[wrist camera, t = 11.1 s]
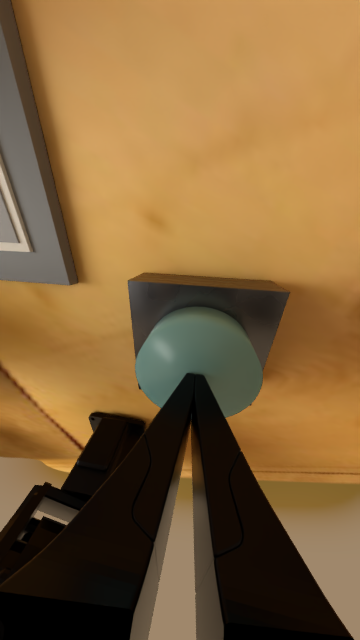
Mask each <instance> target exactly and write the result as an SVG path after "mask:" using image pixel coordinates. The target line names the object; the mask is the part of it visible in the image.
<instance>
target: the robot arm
mask: <svg viewBox="0 0 360 640" xmlns="http://www.w3.org/2000/svg"><path fill="white" fill-rule="evenodd" d="M191 416H192V417H191ZM89 421H90V424H91V427H92V430H93V434H92V436H91V438H90V439H89V441H88V443H87V444H86V446H85V448H84V449H83V451H82V453H81V455H80V456H79V458H78V460H77V462H76V464H75V465H74V467H73V469H72V470H71V472H70V474H69V476H68V477H67V479H66V481H65V482H64V484H63V486H62V487H61V489H58V488H55V487H52V486H51V485H52V484H50V483H48V482H45V483H44V485H43V486H42V485H35V486H34V487H33V488H32V490H31V491H30V493H29V494H28V496H27V497H26V498H25V500H24V501H23V503H22V504H21V505H20V507H19V508H18V510H17V511H16V513H15V514H14V515H13V516H12V518H11V519H10V520H9V522H8V523H7V525H6V526H5V527H4V528H3V530H2V531H1V532H0V640H148V635H149V631H150V625H151V620H152V616H153V611H154V605H155V601H156V595H157V591H158V585H159V584H158V582H159V580H160V575H161V570H162V565H163V560H164V555H165V550H166V545H167V540H168V535H169V530H170V525H171V520H172V515H173V510H174V505H175V500H176V495H177V490H178V485H179V480H180V475H181V470H182V465H183V460H184V455H185V450H186V445H187V440H188V435H189V430H190V424H191V447H192V481H193V482H192V484H193V522H194V560H195V592H196V597H195V599H196V638H197V640H354V639H353V637H352V636H351V634H350V633H349V632H348V630H347V629H346V627H345V626H344V624H343V623H342V622H341V620H340V619H339V617H338V616H337V614H336V613H335V611H334V609H333V608H332V606H331V605H330V604H329V602H328V600H327V599H326V597H325V596H324V594H323V592H322V591H321V589H320V587H319V586H318V584H317V582H316V581H315V579H314V577H313V576H312V574H311V572H310V571H309V569H308V567H307V566H306V564H305V562H304V561H303V559H302V557H301V555H300V554H299V552H298V551H297V549H296V547H295V545H294V544H293V542H292V541H291V539H290V537H289V535H288V534H287V532H286V531H285V529H284V527H283V526H282V524H281V522H280V520H279V519H278V517H277V515H276V514H275V512H274V510H273V508H272V507H271V505H270V503H269V502H268V500H267V498H266V496H265V495H264V493H263V491H262V489H261V488H260V486H259V484H258V482H257V480H256V478H255V476H254V474H253V472H252V471H251V469H250V467H249V465H248V463H247V461H246V459H245V457H244V455H243V453H242V452H240V451H241V449H240V447H239V445H238V443H237V441H236V439H235V437H234V435H233V433H232V431H231V429H230V426H229V424H228V422H227V420H226V418H225V416H224V414H223V412H222V410H221V408H220V406H219V404H218V402H217V400H216V398H215V396H214V394H213V392H212V390H211V388H210V386H209V384H208V382H207V380H206V378H205V376H204V375H201V374H196V375H195V374H194V373H186V374H185V376H184V377H183V379H182V380H181V381H180V383H179V384H178V386H177V387H176V388H175V390H174V391H173V393H172V394H171V395H170V397H169V398H168V400H167V401H166V402H165V404H164V405H163V407H162V408H161V409H160V411H159V412H158V414H157V415H156V416H155V418H154V419H153V421H152V422H151V423H150V425H149V426H148V428H147V429H146V424H145V422H143V421H140V420H134V419H128V418H122V417H116V416H110V415H105V414H99V413H91V414H90V416H89ZM37 510H39V511H42V512H44V513H46V514H49V515H52V516H54V517H57V518H59V519H62V520H64V521H67V522H69V524H68V525H65V524H62V523H60V522H57V521H54V520H52V519H49V518H47V517H44V516H43V518H42V519H41V520H39V519H36V518H34V515H35V514H36V512H37Z"/></svg>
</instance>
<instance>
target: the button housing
mask: <svg viewBox="0 0 360 640" xmlns="http://www.w3.org/2000/svg"><path fill="white" fill-rule="evenodd" d="M128 290H129V299H130V309H131V318H132V328H133V337H134V347H135V356H136V359H137V356H138V353H139V351H140V349H141V347H142V346H143V344H144V343H145V341H146V339H147V338H148V336H149V334H150V333H151V331H152V329H153V328H154V326H155V325H156V324H157V323H158V322H159V321H160V320H161V319H162V318H163V317H164V316H166V315H167V314H169V313H171V312H173V311H176V310H178V309H182V308H186V307H207V308H212V309H216V310H219V311H221V312H224V313H226V314H227V315H229V316H231V317H232V318H233V319H235V320H236V321H237V322H238V323H239V324H240V325H241V326H242V327H243V329H244V330H245V331H246V333H247V335H248V337H249V340H250V342H251V344H252V346H253V348H254V350H255V353H256V355H257V357H258V359H259V361H260V364H261V367H262V372H263V369H264V366H265V363H266V360H267V357H268V354H269V352H270V349H271V346H272V343H273V340H274V337H275V334H276V331H277V328H278V326H279V323H280V320H281V317H282V314H283V311H284V308H285V305H286V302H287V300H288V297H289V294H290V292H289V291H287V290H285V289H284V288H282V287H280V286H279V285H277V284H275V283H273V282H272V281H264V280H248V279H233V278H217V277H201V276H186V275H170V274H155V273H142V274H140V275H138V276H136V277H134V278H132V279H130V280H128ZM138 385H139V383H138ZM139 389H141V387H140V385H139ZM251 404H252V403H251ZM251 404H250V406H251Z"/></svg>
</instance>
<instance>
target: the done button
mask: <svg viewBox="0 0 360 640" xmlns="http://www.w3.org/2000/svg"><path fill="white" fill-rule="evenodd" d="M135 372H136V377H137V380H138V383H139V385H140V387H141V389H142V390H143V392H144V393H145V394H146V396H147V397H148V398H149V399H150V400H151V401H152V402H153V403H155V404H156V405H157V406H159V407H160V408H162V407H163V405H164V404H165V402H166V401H167V400H168V398H169V397H170V395H171V394H172V393H173V391H174V390H175V388H176V387H177V386H178V384H179V383H180V381H181V380H182V379H183V377H184V376H185V374H186V373H194V374H195V375H196V374H201V375H204V376H205V378H206V380H207V382H208V384H209V386H210V388H211V390H212V392H213V394H214V396H215V398H216V400H217V402H218V404H219V406H220V408H221V410H222V412H223V414H224V416H225V418H226V417H229V416H232V415H234V414H237V413H239V412H241V411H242V410H244V409H245V408H246V407H248V406H249V405H250V404H251V403H252V402H253V401H254V400H255V398H256V397H257V395H258V394H259V392H260V389H261V386H262V381H263V373H262V367H261V364H260V361H259V359H258V357H257V355H256V353H255V350H254V348H253V346H252V344H251V342H250V340H249V337H248V335H247V333H246V331H245V330H244V329H243V327H242V326H241V325H240V324H239V323H238V322H237V321H236V320H235V319H233V318H232V317H231V316H229V315H227V314H226V313H224V312H221V311H219V310H216V309H212V308H207V307H186V308H182V309H178V310H176V311H173V312H171V313H169V314H167V315H166V316H164V317H163V318H162V319H161V320H160V321H159V322H158V323H157V324H156V325H155V326H154V328H153V329H152V331H151V333H150V334H149V336H148V338H147V339H146V341H145V343H144V344H143V346H142V347H141V349H140V351H139V353H138V356H137V359H136V364H135ZM191 417H192V416H191Z"/></svg>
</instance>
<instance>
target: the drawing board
mask: <svg viewBox="0 0 360 640" xmlns="http://www.w3.org/2000/svg"><path fill="white" fill-rule="evenodd" d="M0 280H8V281H21V282H34V283H47V284H60V285H72V284H76V283H78V280H77V275H76V271H75V267H74V263H73V259H72V255H71V250H70V246H69V242H68V238H67V234H66V230H65V225H64V221H63V217H62V213H61V209H60V205H59V200H58V196H57V192H56V188H55V184H54V180H53V175H52V171H51V167H50V163H49V159H48V155H47V150H46V146H45V142H44V138H43V134H42V130H41V126H40V121H39V117H38V113H37V109H36V105H35V101H34V96H33V92H32V88H31V84H30V80H29V76H28V71H27V67H26V63H25V59H24V55H23V51H22V46H21V42H20V38H19V34H18V30H17V26H16V21H15V17H14V13H13V9H12V5H11V1H10V0H0Z"/></svg>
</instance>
